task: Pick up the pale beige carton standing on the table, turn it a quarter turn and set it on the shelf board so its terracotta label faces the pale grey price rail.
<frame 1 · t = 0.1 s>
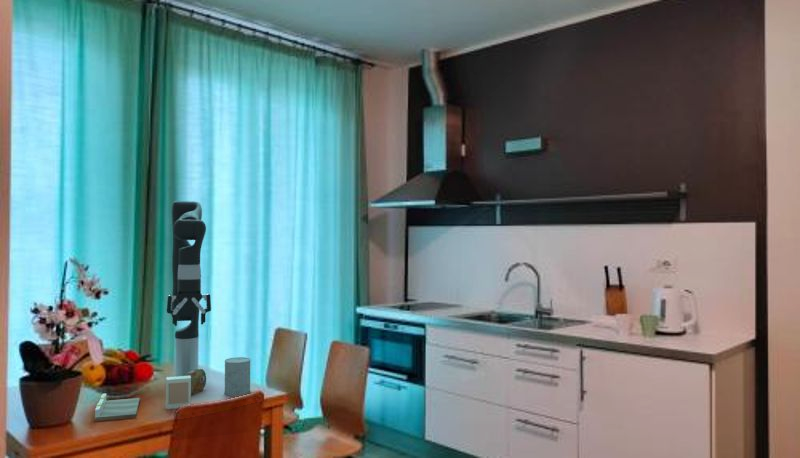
hand: (188, 324, 203), 29 cm above the table, tool pointing down, fingers open, 8 cm apart
tin: (192, 394, 223), on the table
carton: (178, 406, 207), on the table
price rail: (100, 404, 199), on the shelf board, point 3 cm above the table
shelf board: (118, 410, 201), on the table
grey stone cylinder: (237, 392, 225), on the table
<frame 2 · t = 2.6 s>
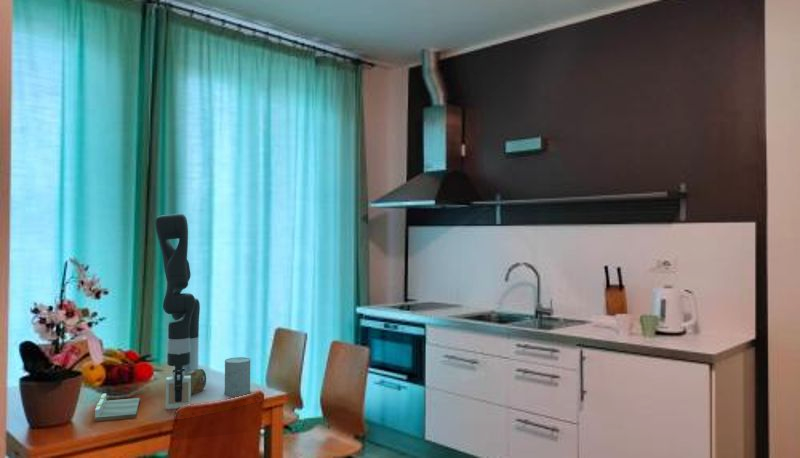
hand: (178, 399, 207), 2 cm above the table, tool pointing down, fingers open, 4 cm apart
carton: (178, 406, 207), on the table, touching gripper
everything else where it was.
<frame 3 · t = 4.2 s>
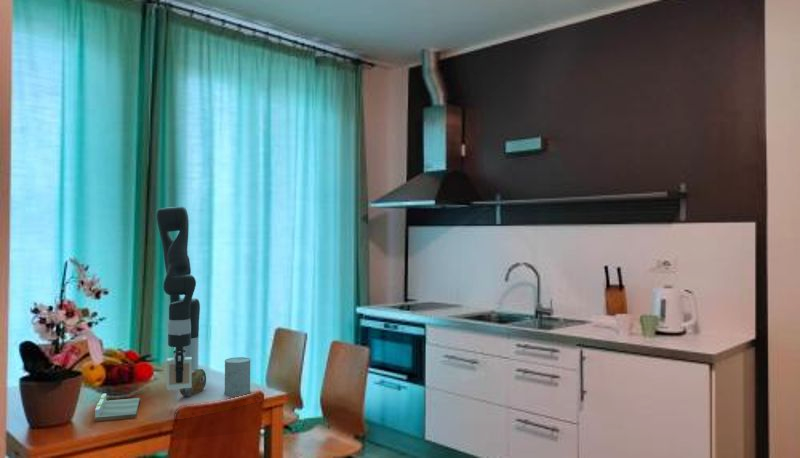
hand: (179, 380, 207), 9 cm above the table, tool pointing down, fingers closed on carton, 4 cm apart
carton: (179, 387, 207), point 6 cm above the table, touching gripper
everything else where it was.
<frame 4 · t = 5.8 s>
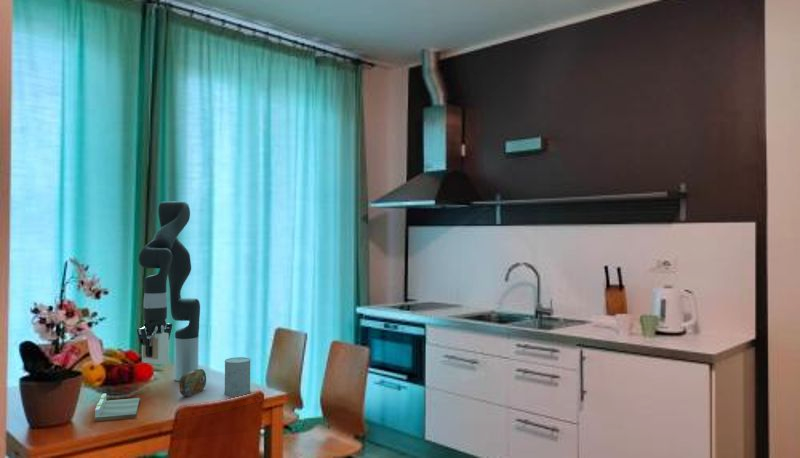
hand: (154, 355, 204), 18 cm above the table, tool pointing down, fingers closed on carton, 4 cm apart
carton: (155, 362, 204), point 16 cm above the table, touching gripper
everything else where it was.
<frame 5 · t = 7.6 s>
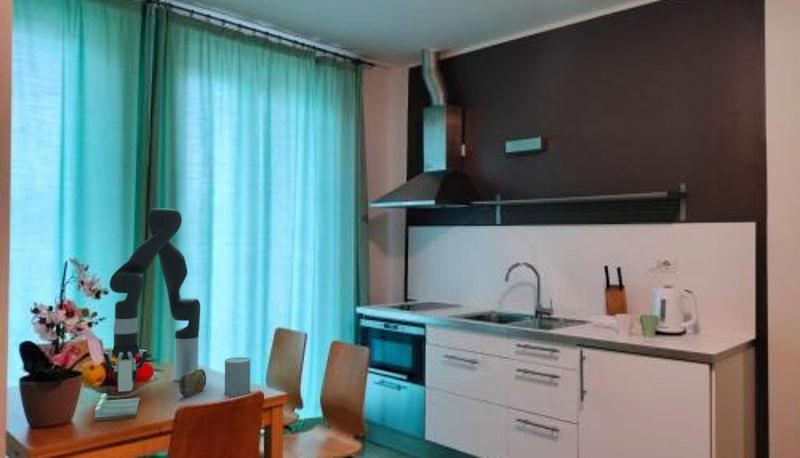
hand: (125, 381, 202), 10 cm above the table, tool pointing down, fingers closed on carton, 4 cm apart
carton: (125, 388, 202), point 7 cm above the table, touching gripper
everything else where it was.
when the fingers open (5 cm above the table, at t = 8.9 s): carton drops 1 cm, resting on shelf board.
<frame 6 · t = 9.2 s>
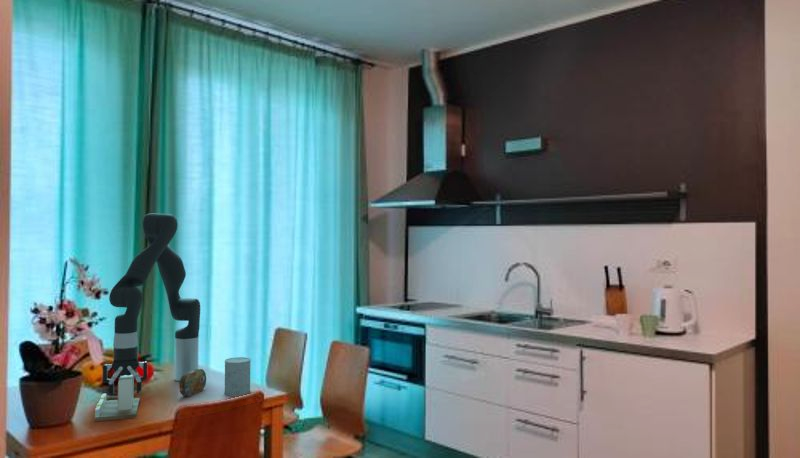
hand: (125, 393, 202), 6 cm above the table, tool pointing down, fingers open, 7 cm apart
carton: (126, 406, 202), point 1 cm above the table, touching shelf board
everything else where it was.
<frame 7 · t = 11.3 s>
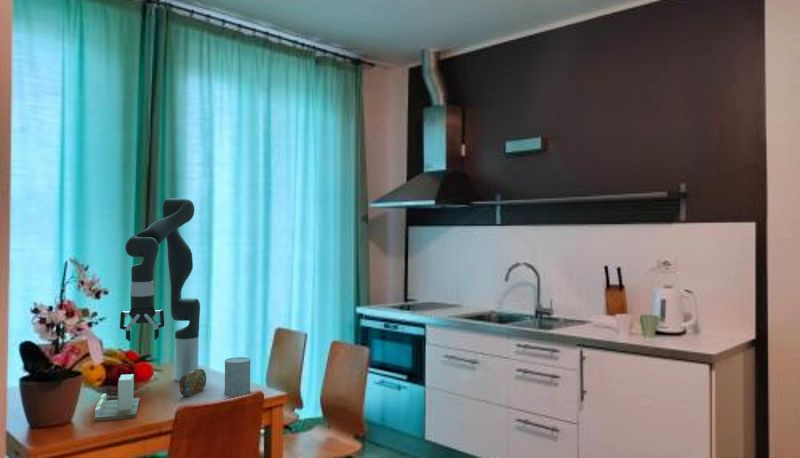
hand: (142, 340, 208), 23 cm above the table, tool pointing down, fingers open, 8 cm apart
nothing on the table moved.
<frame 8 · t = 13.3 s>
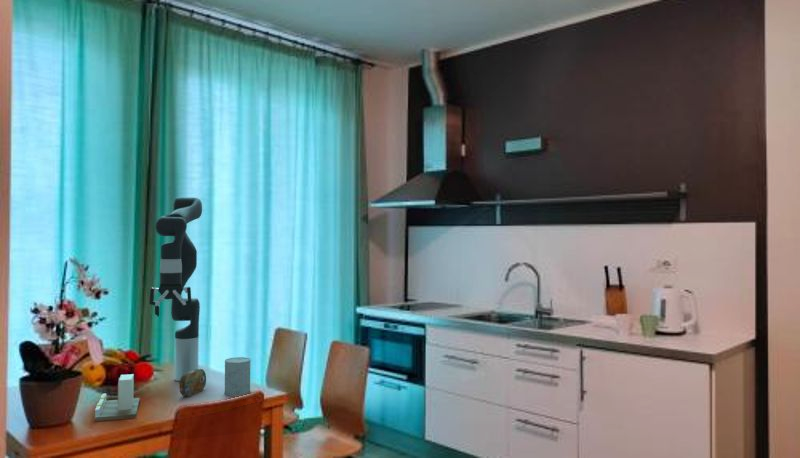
hand: (170, 315, 217), 30 cm above the table, tool pointing down, fingers open, 8 cm apart
nothing on the table moved.
at the end: carton inside the target area (0.3 cm from its centre), point 1.2 cm above the table; carton tilted 0°; the gripper is holding nothing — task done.
